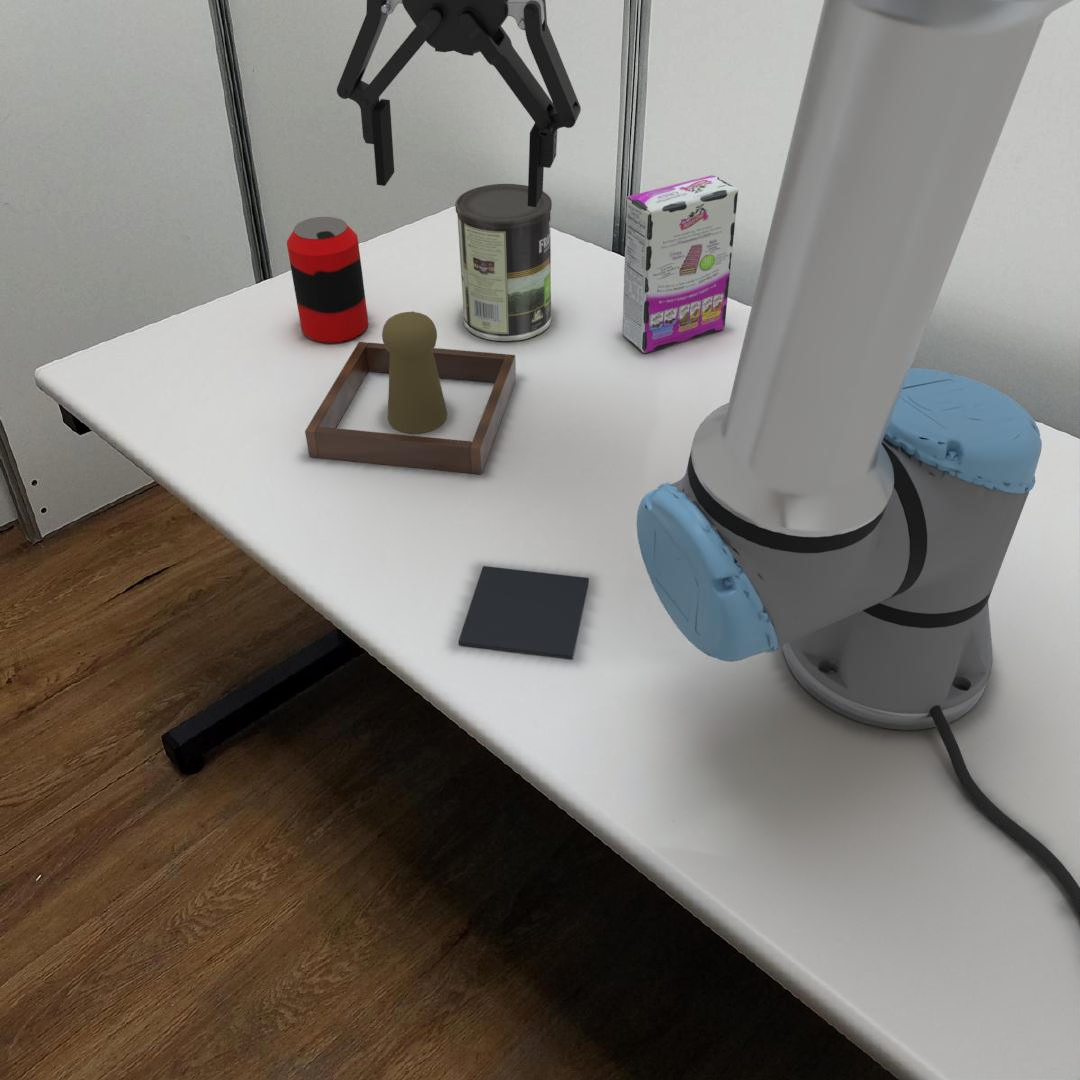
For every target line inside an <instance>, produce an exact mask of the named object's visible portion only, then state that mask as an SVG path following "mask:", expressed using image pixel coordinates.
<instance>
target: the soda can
mask: <svg viewBox="0 0 1080 1080" xmlns="http://www.w3.org/2000/svg"><path fill="white" fill-rule="evenodd" d="M358 236H359V235H358V234H357V233H356V232H355V231H354V230H353V229H352V228H351V227H350V226H349V225H348V224H347V222H346V221H345V220H343V219H341V218H338V217H334V216H316V217H311V218H307V219H303V220H301V221H300V222H298V223H297V224H296V225H294V227H293V230H292V231H291V234H290V235H289V237H288V238H287V240H286V247H287V254H288V259H289V264H290V265H289V266H290V272H291V277H292V282H293V288H294V294H295V299H296V306H297V312H298V317H299V323H300V328H301V331H302V333H303V334H304V335H305V336H306V337H307V338H308V339H310V340H313V341H315V342H318V343H323V344H324V343H325V344H338V343H344V342H348V341H351V340H354V339H356V338H357V337H359V336H360V335H362V334H363V333H364V332H365V330H366V329H367V327H368V326H369V316H368V307H367V301H366V293H365V285H364V277H363V267H362V261H361V260H362V259H361V253H360V245H359V238H358Z"/></svg>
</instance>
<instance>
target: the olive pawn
mask: <svg viewBox="0 0 1080 1080" xmlns="http://www.w3.org/2000/svg"><path fill="white" fill-rule="evenodd" d="M381 338H382V342H383V344H384V345H385V347H386V350H387V351H388V352H389V353H390V365H389V373H388V393H387V394H388V395H387V396H388V397H387V398H388V399H387V400H388V401H387V421H388V425H389V426H391V427H392V428H393V429H395V430H396V431H399V432H400V433H401V432H402V433H407V434H423V433H427V432H428V433H429V432H431V431H434V430H436V429H438V428H440V427H441V426H443V425H444V423H445V422H446V421H447V419H448V410H447V406H446V401H445V397H444V393H443V389H442V385H441V379H440V377H439V375H438V371H437V367H436V362H435V358H434V354H433V348H436V345H437V339H438V330H437V328H436V325H435V323H434V321H433V320H432V319H431V317H429V316H428V315H426V314H424V313H421V312H418V311H417V312H416V311H405V312H399V313H397V314H393V315H392V316H391V317H389V318H388V319H387V320H386V321H385V323H384V325H383V327H382V332H381Z"/></svg>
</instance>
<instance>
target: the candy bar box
mask: <svg viewBox="0 0 1080 1080" xmlns="http://www.w3.org/2000/svg"><path fill="white" fill-rule="evenodd" d="M738 195H739V189H738V188H737V187H735V186H733V185H731V184H730V183H728V182H727V181H724V180H723V179H720V177H719V176H716V175H712V174H711V175H707V176H703V177H699V178H696V179H691V180H687V181H683V182H680V183H675V184H670V185H667V186H663V187H659V188H656V189H652V190H651V189H650V190H647V191H644V192H640V193H636V194H632V195H627V196H626V198H625V199H626V202H625V233H624V235H625V236H624V238H625V240H624V272H623V301H622V302H623V305H622V336H623V338H624V339H626V340H627V341H628V342H629V343H631V344H632V345H633V346H635V347H636V348H637V349H638V350H639V351H640V352H642V353H643V354H647V353H648V354H649V353H651V352H654V351H657V350H661V349H664V348H667V347H670V346H673V345H674V346H675V345H676V344H677V345H678V344H680V343H683V342H686V341H689V340H693V339H695V338H699V337H702V336H705V335H708V334H711V333H714V332H718V331H721V330H723V329H725V328H726V318H727V306H728V297H729V287H730V277H731V267H732V266H731V265H732V257H733V256H732V255H733V246H734V238H735V237H734V236H735V227H736V215H737V205H738Z"/></svg>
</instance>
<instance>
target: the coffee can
mask: <svg viewBox="0 0 1080 1080" xmlns="http://www.w3.org/2000/svg"><path fill="white" fill-rule="evenodd" d="M552 205H553V203H552V199H551V196H550V195H549V194H548V193H546V192H545V191H543V193H542V195H541V198H540V200H539V202H538V204H537V206H536V207H530V206H528V185H525V184H516V183H494V184H487V185H481V186H478V187H475V188H474V187H473V188H472V189H469V190H467V191H465V192H463V193H462V194H460V195H459V196H458V197H457V199H456V201H455V203H454V206H455V213H456V214H457V231H458V246H459V247H458V248H459V260H460V261H459V262H460V263H459V264H460V265H459V266H460V279H461V293H462V307H463V317H462V320H463V325H464V327H465V329H466V330H467V331H468V332H470V333H471V334H473V335H474V336H476V337H479V338H481V339H485V340H489V341H493V342H494V341H495V342H516V341H524V340H528V339H530V338H534V337H536V336H538V335H540V334H542V333H543V332H545V331H546V330H547V329H548V328H549V327H550V325H551V324H552V320H553V316H552V299H551V298H552V293H551V292H552V291H551V290H552V284H551V283H552V281H551V278H552V277H551V271H552V270H551V269H552V267H551V264H552V263H551V261H552V257H551V256H552V255H551V253H552V252H551V251H552V250H551V249H552V248H551V244H552V243H551V238H552V237H551V226H552V225H551V219H552V218H551V211H552Z"/></svg>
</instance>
